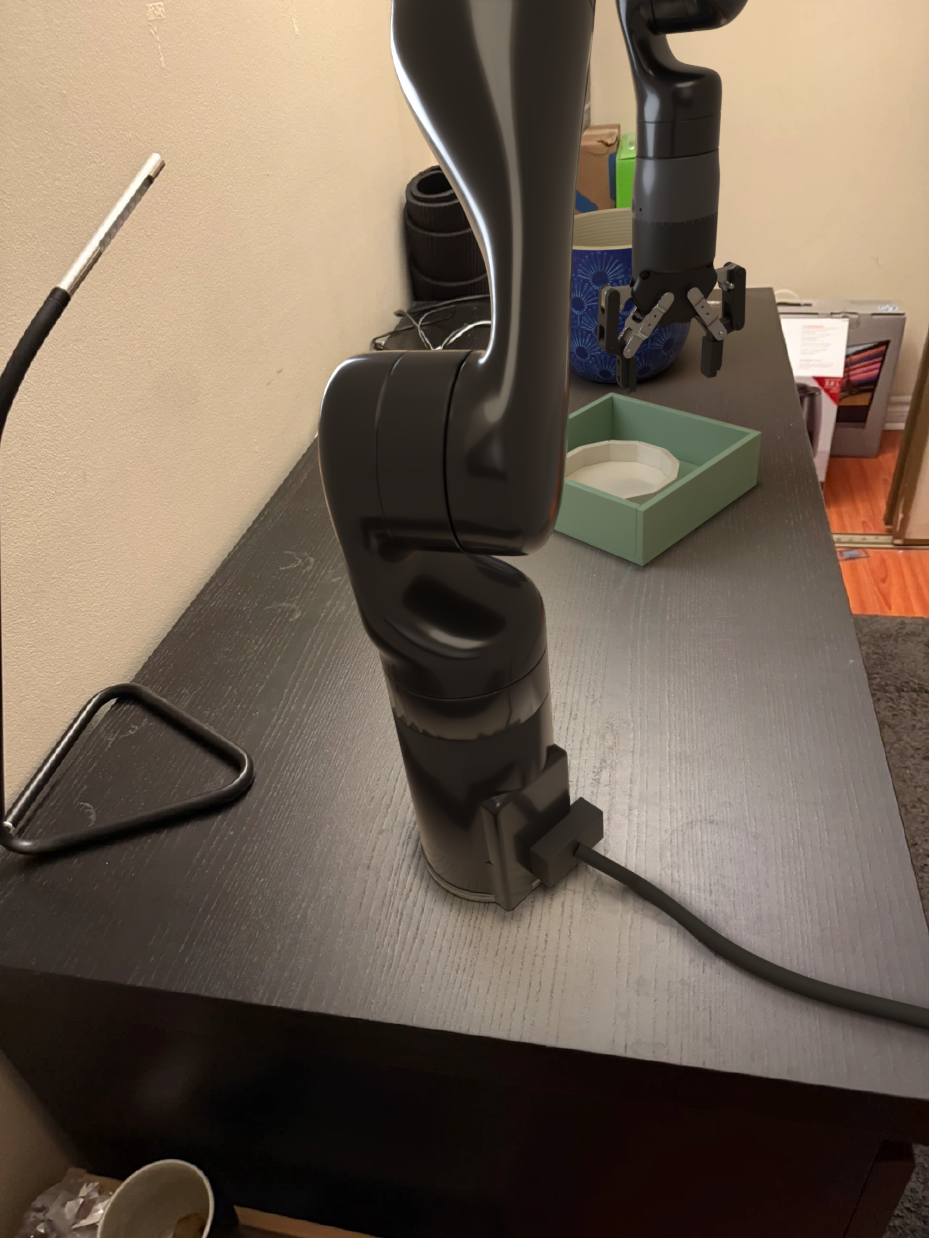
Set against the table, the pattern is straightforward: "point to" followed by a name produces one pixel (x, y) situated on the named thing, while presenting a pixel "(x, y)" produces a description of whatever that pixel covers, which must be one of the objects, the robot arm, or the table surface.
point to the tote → (708, 482)
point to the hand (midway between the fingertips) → (668, 383)
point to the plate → (624, 468)
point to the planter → (609, 261)
